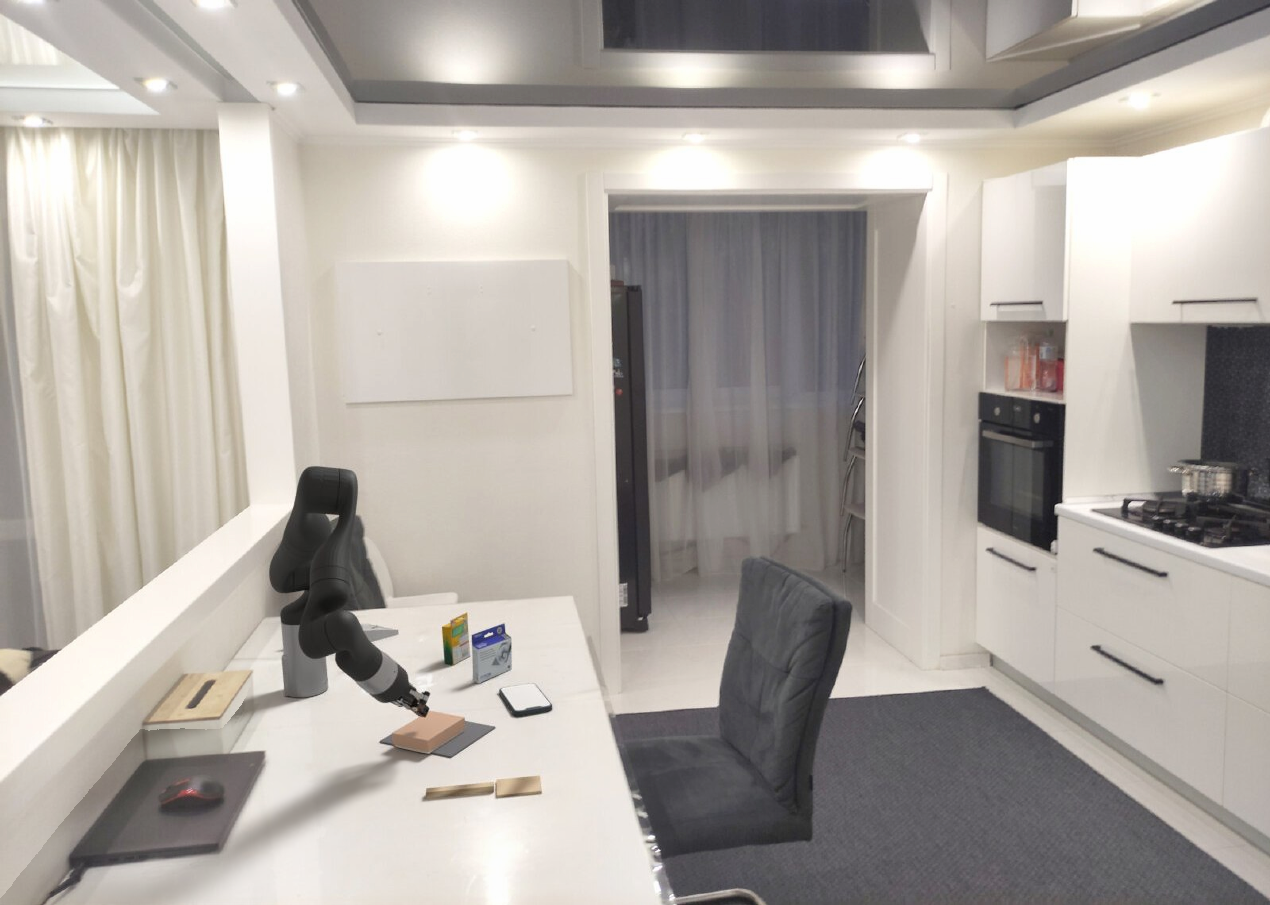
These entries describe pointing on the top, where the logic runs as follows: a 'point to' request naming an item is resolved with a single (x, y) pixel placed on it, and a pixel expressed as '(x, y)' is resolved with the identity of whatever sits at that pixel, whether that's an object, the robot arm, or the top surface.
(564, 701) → the top surface
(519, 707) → the phone case
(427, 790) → the turner
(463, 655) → the crayon box
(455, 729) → the tile
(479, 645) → the ink box
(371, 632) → the ramp
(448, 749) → the mat
